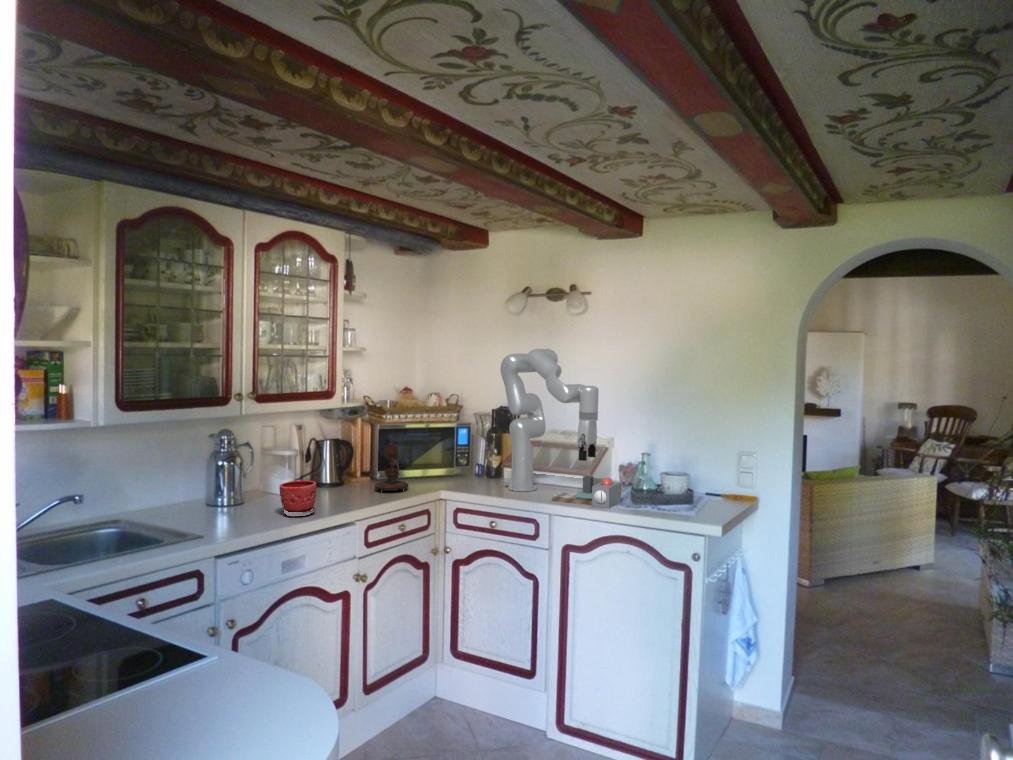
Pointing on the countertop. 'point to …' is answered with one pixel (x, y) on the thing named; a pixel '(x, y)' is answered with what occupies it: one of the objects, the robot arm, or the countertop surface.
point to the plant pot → (298, 495)
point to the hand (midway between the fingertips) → (587, 458)
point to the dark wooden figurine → (391, 471)
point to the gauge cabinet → (606, 495)
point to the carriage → (586, 488)
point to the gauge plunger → (606, 481)
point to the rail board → (571, 498)
